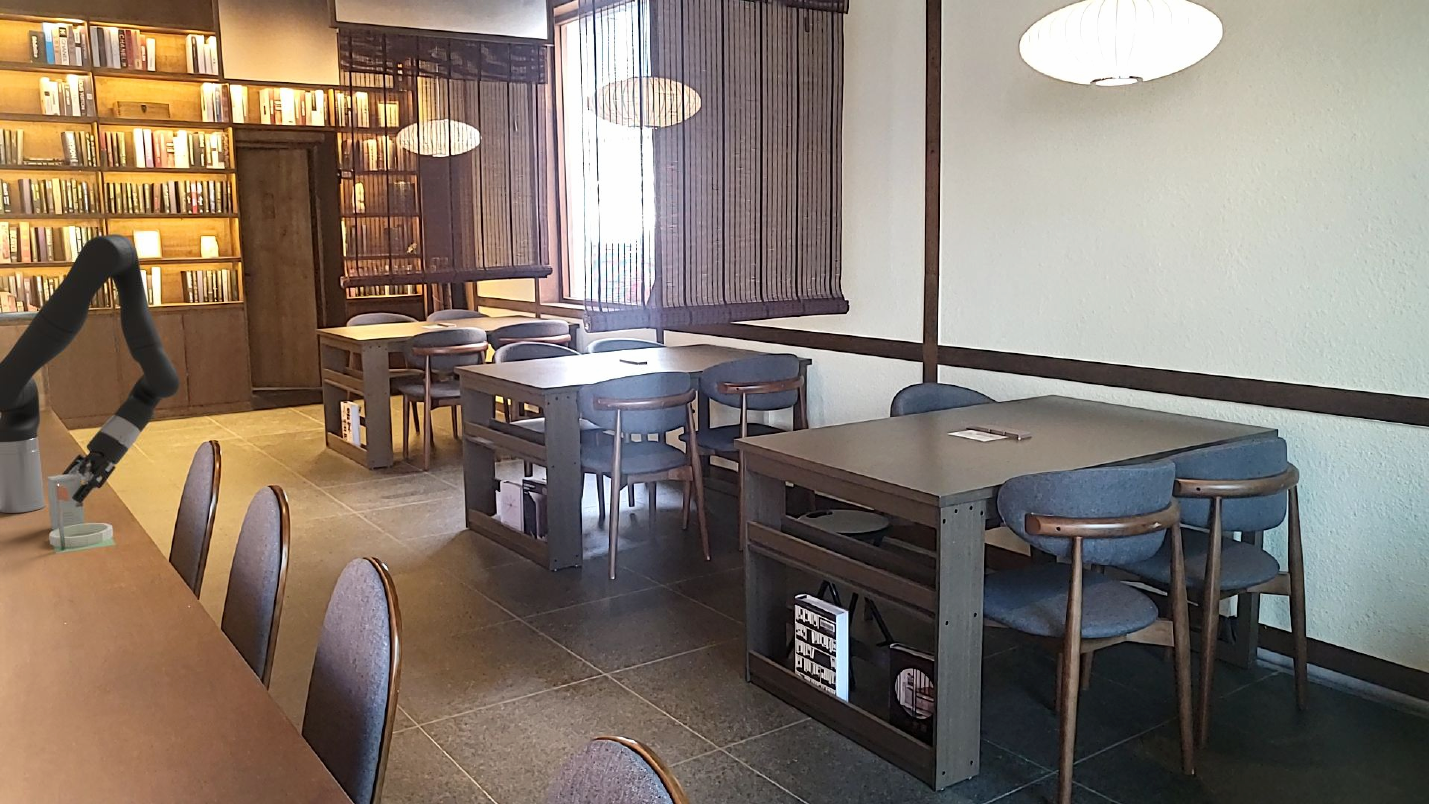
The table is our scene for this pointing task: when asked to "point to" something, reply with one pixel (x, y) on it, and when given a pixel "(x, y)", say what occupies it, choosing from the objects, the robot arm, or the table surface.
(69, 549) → the felt mat
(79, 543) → the cup
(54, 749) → the table surface
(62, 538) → the pin flag
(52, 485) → the skincare box
